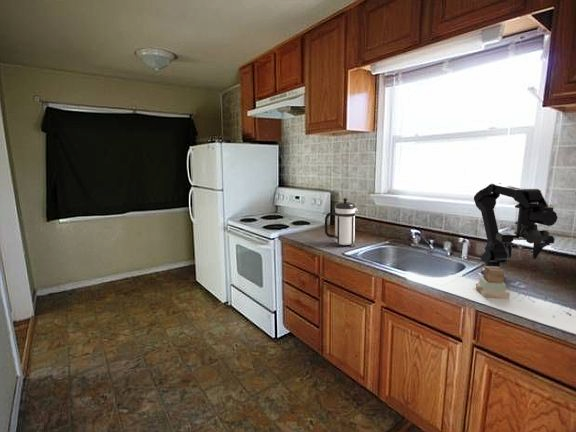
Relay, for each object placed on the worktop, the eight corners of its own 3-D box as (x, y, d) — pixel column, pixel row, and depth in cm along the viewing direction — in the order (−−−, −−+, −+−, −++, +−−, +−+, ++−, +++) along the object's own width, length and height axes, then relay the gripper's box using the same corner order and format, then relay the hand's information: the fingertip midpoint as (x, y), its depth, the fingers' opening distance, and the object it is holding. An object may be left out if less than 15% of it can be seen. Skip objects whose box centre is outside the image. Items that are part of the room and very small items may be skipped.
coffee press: (343, 240, 212) (344, 195, 207) (361, 245, 199) (362, 198, 194) (323, 244, 203) (323, 198, 197) (341, 250, 190) (342, 200, 184)
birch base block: (475, 289, 131) (476, 283, 131) (497, 290, 130) (498, 283, 130) (485, 298, 123) (485, 291, 123) (508, 299, 122) (509, 292, 121)
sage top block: (479, 283, 131) (479, 276, 130) (498, 284, 129) (499, 277, 128) (484, 290, 124) (485, 282, 124) (505, 291, 122) (505, 284, 122)
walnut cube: (483, 277, 128) (484, 266, 128) (497, 278, 128) (498, 266, 127) (488, 282, 124) (489, 270, 123) (503, 283, 123) (504, 270, 122)
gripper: (511, 224, 120) (506, 264, 123) (566, 225, 117) (561, 265, 119) (497, 218, 130) (493, 255, 133) (547, 219, 127) (542, 256, 130)
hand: (521, 258), depth 129 cm, fingers open, 9 cm apart
